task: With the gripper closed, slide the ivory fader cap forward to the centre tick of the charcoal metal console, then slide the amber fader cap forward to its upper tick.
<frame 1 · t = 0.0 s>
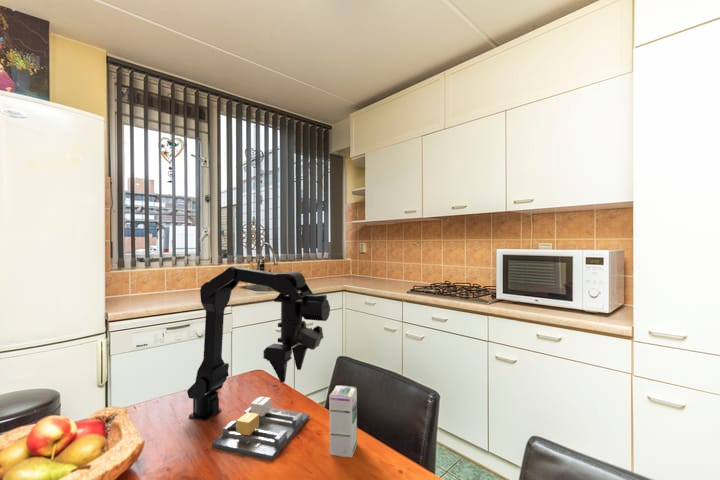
hand: (291, 375, 90), 15 cm above the table, fingers open, 9 cm apart
fader amber: (247, 425, 85), point 4 cm above the table, slide at -2.0 cm
console: (264, 431, 89), on the table
syrup box: (343, 450, 81), on the table
fader ivory: (261, 408, 94), point 4 cm above the table, slide at -4.0 cm
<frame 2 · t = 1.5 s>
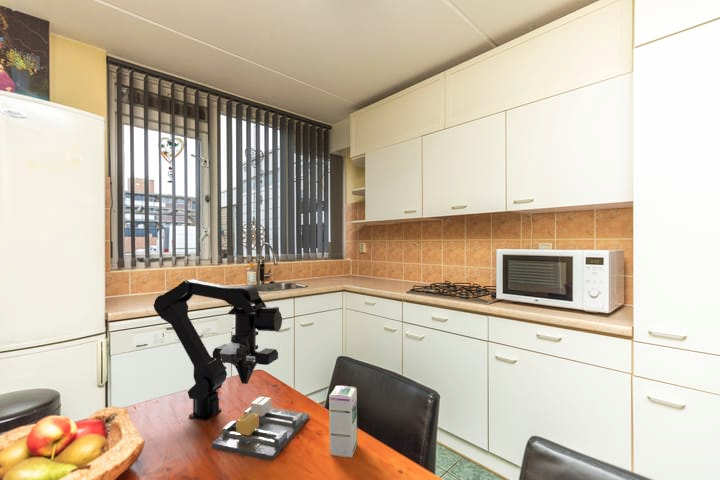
hand: (244, 383, 96), 10 cm above the table, fingers closed
nothing on the table moved.
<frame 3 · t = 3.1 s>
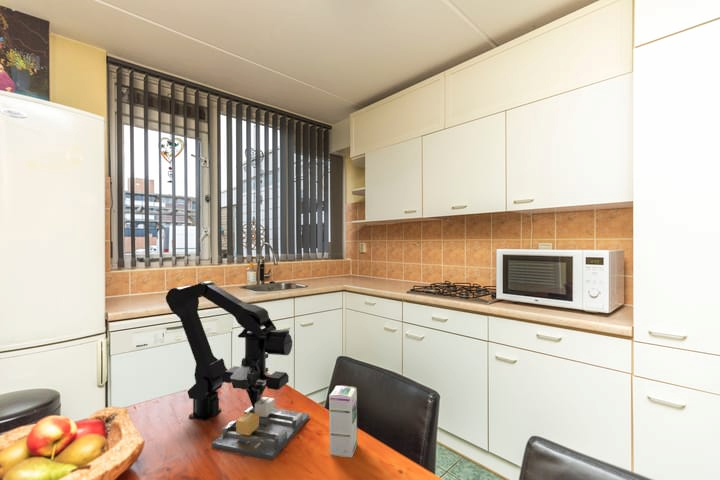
hand: (255, 407, 95), 4 cm above the table, fingers closed
fader ivory: (264, 408, 94), point 4 cm above the table, slide at -2.8 cm, touching gripper
everything else where it was.
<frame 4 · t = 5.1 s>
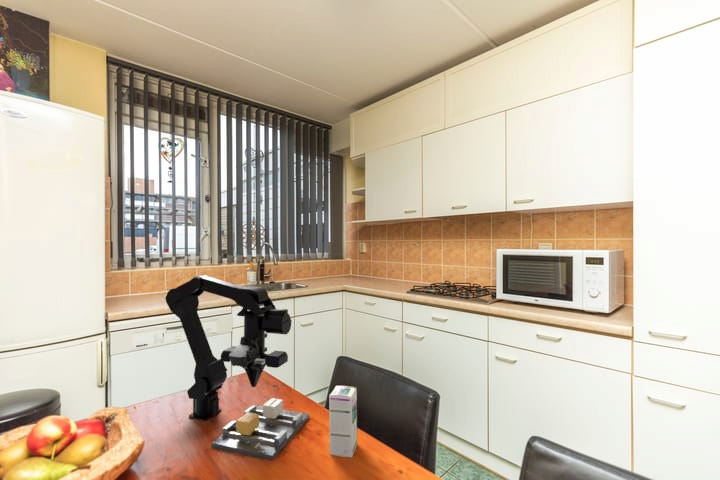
hand: (253, 386, 94), 10 cm above the table, fingers closed
fader ivory: (273, 410, 93), point 4 cm above the table, slide at -0.1 cm
everything else where it was.
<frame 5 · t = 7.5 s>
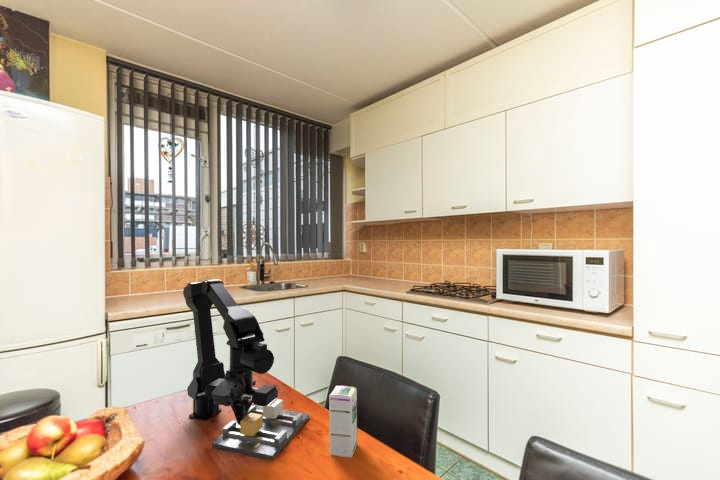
hand: (240, 424, 86), 4 cm above the table, fingers closed
fader amber: (251, 426, 85), point 4 cm above the table, slide at -0.9 cm, touching gripper
everything else where it was.
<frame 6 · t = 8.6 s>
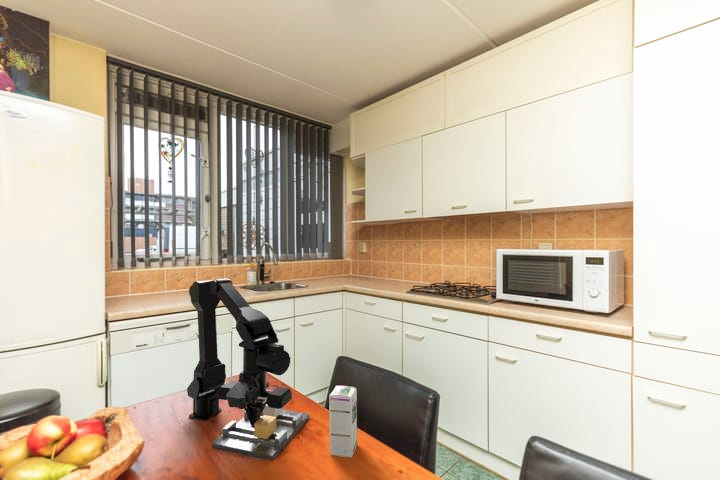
hand: (254, 427, 84), 4 cm above the table, fingers closed
fader amber: (265, 429, 84), point 4 cm above the table, slide at 3.2 cm, touching gripper
everything else where it was.
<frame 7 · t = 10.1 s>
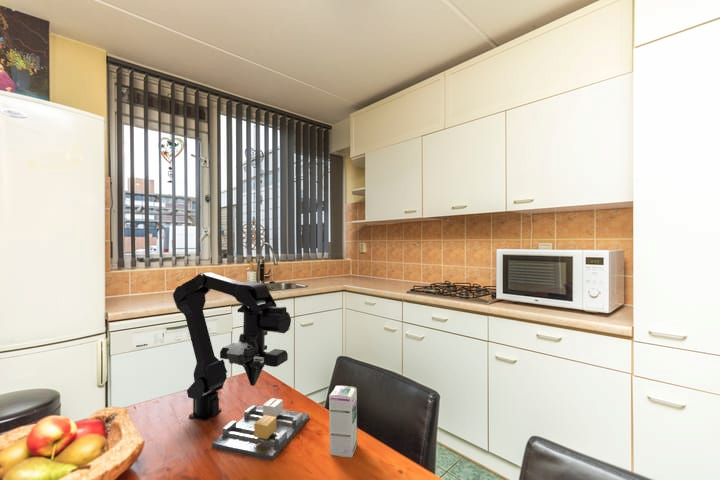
hand: (253, 385, 91), 11 cm above the table, fingers closed
fader amber: (265, 429, 84), point 4 cm above the table, slide at 3.2 cm
everything else where it was.
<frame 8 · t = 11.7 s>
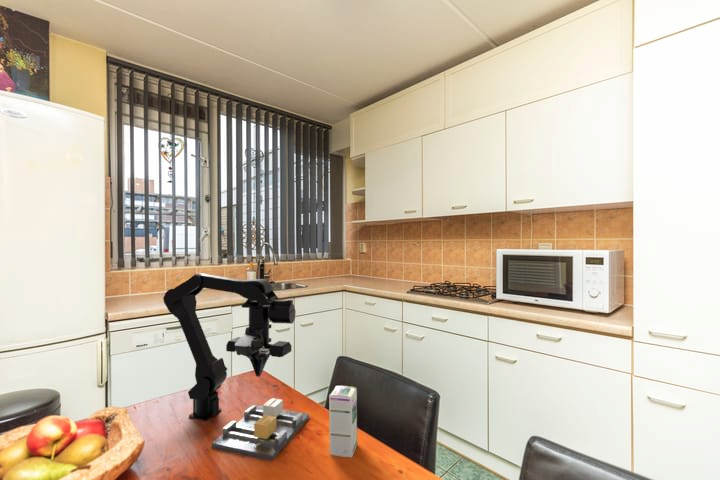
hand: (258, 376, 96), 12 cm above the table, fingers closed
nothing on the table moved.
at the end: fader amber slide at 3.2 cm; fader ivory slide at -0.1 cm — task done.
